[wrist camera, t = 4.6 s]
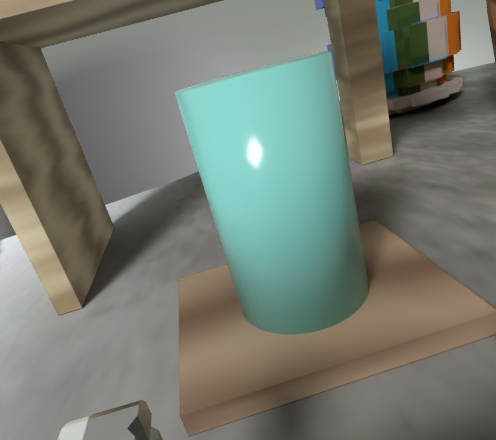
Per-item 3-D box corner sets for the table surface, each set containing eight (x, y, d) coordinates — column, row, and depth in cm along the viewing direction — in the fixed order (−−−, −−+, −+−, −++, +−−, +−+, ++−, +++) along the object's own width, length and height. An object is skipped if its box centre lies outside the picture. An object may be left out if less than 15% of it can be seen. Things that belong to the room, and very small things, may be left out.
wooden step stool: (475, 187, 27) (462, -148, 20) (58, 315, 25) (-108, -7, 18) (378, 149, 40) (350, -62, 33) (98, 232, 38) (10, 26, 31)
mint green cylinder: (393, 271, 19) (363, 41, 15) (317, 353, 15) (253, 78, 11) (292, 251, 23) (250, 67, 19) (215, 310, 19) (145, 100, 16)
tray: (498, 332, 15) (498, 311, 15) (188, 436, 14) (180, 415, 14) (376, 233, 24) (374, 219, 24) (184, 293, 24) (178, 279, 23)
